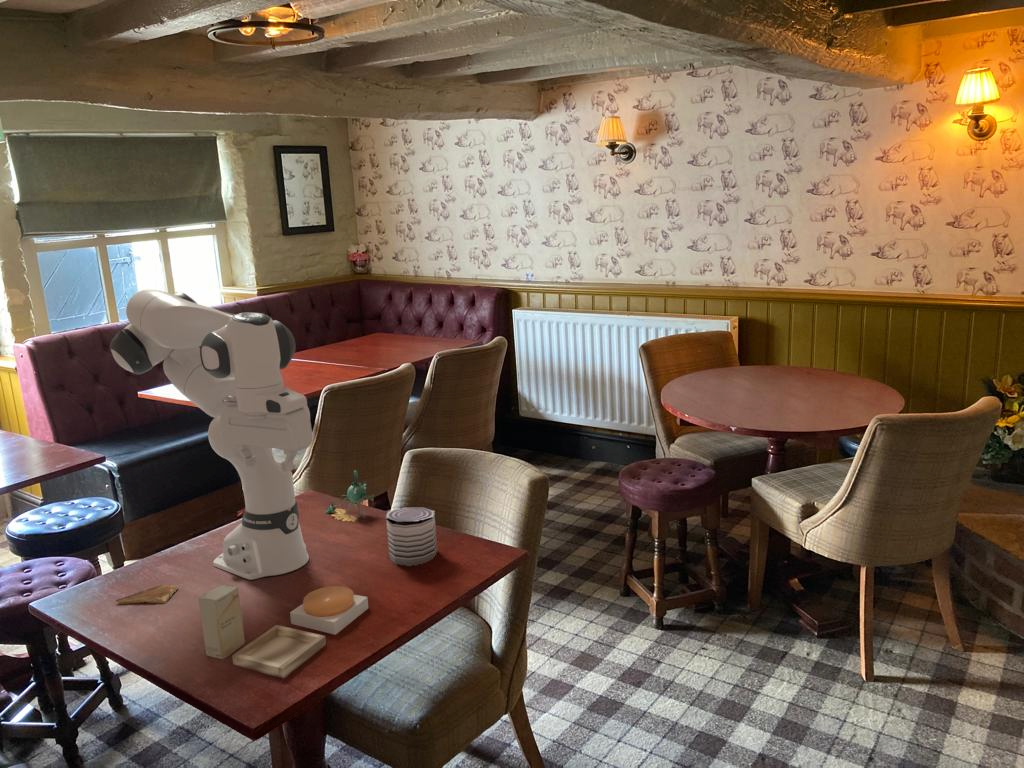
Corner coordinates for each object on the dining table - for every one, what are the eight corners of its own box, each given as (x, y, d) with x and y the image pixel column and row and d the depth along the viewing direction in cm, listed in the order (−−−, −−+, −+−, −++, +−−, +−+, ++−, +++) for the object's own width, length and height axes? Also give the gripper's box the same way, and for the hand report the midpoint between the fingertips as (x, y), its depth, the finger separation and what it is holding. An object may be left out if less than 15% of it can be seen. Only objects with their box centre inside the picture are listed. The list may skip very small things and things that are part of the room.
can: (379, 562, 193) (375, 514, 190) (415, 546, 201) (411, 499, 199) (412, 574, 186) (408, 525, 183) (448, 557, 194) (444, 509, 191)
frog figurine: (339, 510, 228) (344, 459, 225) (390, 529, 219) (396, 477, 216) (315, 518, 219) (320, 465, 216) (367, 539, 211) (373, 484, 208)
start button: (293, 611, 165) (292, 604, 164) (325, 589, 173) (324, 582, 173) (333, 620, 160) (332, 612, 160) (363, 597, 169) (363, 590, 169)
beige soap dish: (233, 665, 152) (232, 655, 151) (277, 633, 162) (276, 624, 162) (283, 678, 147) (282, 668, 146) (326, 645, 157) (325, 636, 157)
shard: (116, 606, 176) (115, 599, 175) (133, 590, 183) (133, 583, 183) (165, 607, 175) (164, 599, 175) (181, 590, 183) (180, 583, 182)
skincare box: (223, 660, 153) (214, 601, 151) (205, 656, 155) (196, 597, 153) (246, 644, 159) (239, 586, 156) (229, 640, 161) (221, 582, 158)
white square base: (291, 626, 165) (289, 612, 164) (326, 601, 175) (324, 588, 174) (335, 636, 160) (334, 622, 160) (368, 610, 170) (367, 597, 169)
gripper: (207, 399, 158) (216, 467, 161) (291, 405, 149) (299, 478, 152) (231, 391, 163) (240, 458, 166) (313, 397, 154) (320, 467, 157)
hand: (269, 467), depth 159 cm, fingers open, 8 cm apart
